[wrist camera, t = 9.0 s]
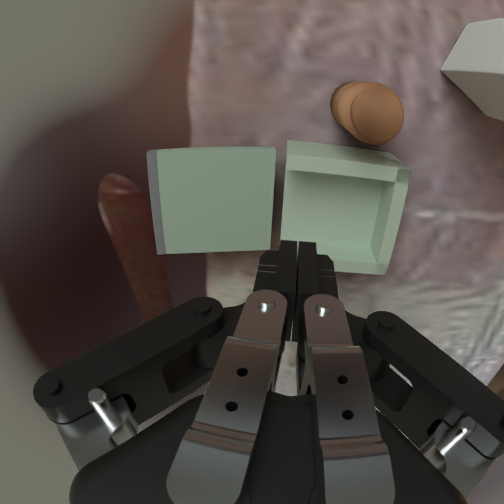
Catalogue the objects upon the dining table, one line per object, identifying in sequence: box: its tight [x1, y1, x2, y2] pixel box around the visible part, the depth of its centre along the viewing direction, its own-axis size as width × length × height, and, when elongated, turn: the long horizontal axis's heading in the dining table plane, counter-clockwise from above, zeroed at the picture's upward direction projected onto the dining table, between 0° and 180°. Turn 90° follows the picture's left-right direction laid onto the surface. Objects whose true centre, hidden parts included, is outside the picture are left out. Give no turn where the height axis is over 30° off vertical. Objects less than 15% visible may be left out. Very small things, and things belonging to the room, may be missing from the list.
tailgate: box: [147, 147, 276, 254], centre depth 27 cm, size 1×10×11 cm
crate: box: [279, 140, 411, 275], centre depth 27 cm, size 10×10×6 cm
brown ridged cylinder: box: [330, 82, 404, 144], centre depth 22 cm, size 5×5×8 cm
